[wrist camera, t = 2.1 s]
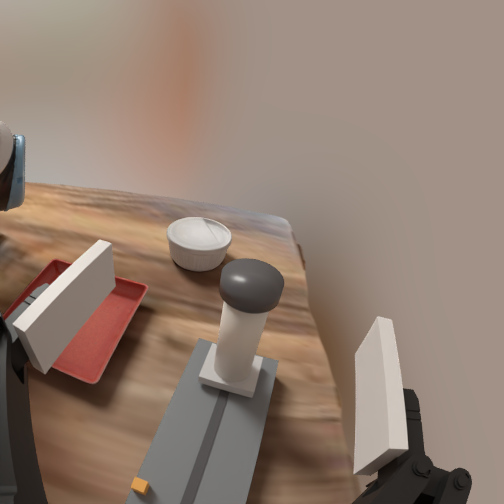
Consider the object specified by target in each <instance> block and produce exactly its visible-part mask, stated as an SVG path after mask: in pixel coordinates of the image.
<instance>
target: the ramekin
mask: <svg viewBox="0 0 504 504" xmlns="http://www.w3.org/2000/svg"><path fill="white" fill-rule="evenodd" d="M167 239H168V241H169V248H170V254H171V257H172V259H173V260H174V261H175V262H176V263H177V264H178V265H179V266H181V267H182V268H185V269H187V270H191V271H199V272H202V271H208V270H212V269H214V268H216V267H217V266H219V265H220V264H221V262H222V261H223V259H224V257H225V255H226V252H227V249H228V247H229V246H230V244H231V241H232V235H231V233H230V231H229V230H228V229H227V228H226V227H225V226H224V225H222V224H221V223H219V222H216V221H214V220H211V219H207V218H200V217H189V218H183V219H179V220H177V221H175V222H173V223H172V224H171V225H170V226H169V227H168V229H167Z"/></svg>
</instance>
